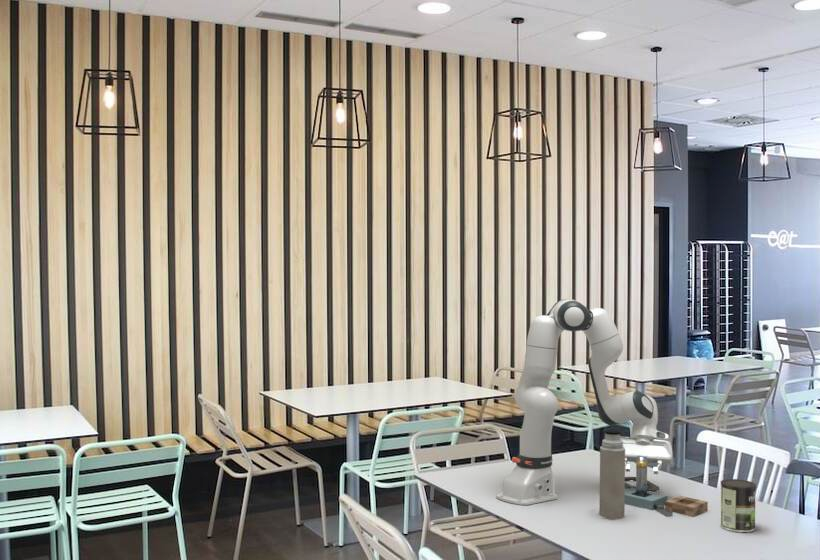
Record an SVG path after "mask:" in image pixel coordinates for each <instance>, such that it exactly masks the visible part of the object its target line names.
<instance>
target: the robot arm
mask: <svg viewBox="0 0 820 560" xmlns="http://www.w3.org/2000/svg"><path fill="white" fill-rule="evenodd" d="M618 330H619V329H618V328H617V326H616V324H615V322H614V319H612V317H611V315H610V314H609V312H608V311H607V310H606V309H604V308H601V307H597V308H595V307H594V308H591V309H589V308H588V307H587V306H585V305H584V304H582V303H581V302H579V301H577V300H575V299H569V298H565V299H564V298H563V299H560V300H558V301H557V302H555V303H554V305H553V306H552V307H551V309H550V310H549V311H548V312H547V314H546V315H545V314H543V315H538V316H535V317H534V318H533V319H532V321H531V323H530V326H529V330H528V334H527V337H526V345H525V346H526V347H525V353H524V354H525V355H524V363H523V367H522V371H521V372H522V373H521V376H520V379H519V382H518V386H517V388H516V389H515V391H514V400H515V404H516V405H517V407H518V408H519V409H520V410H521V411H522V412H523V413H524V414H523V415H524V416H523V422H522V426H521V429H520V431H519V453H518V455H517V457H516V456H513V457H512V458H511V462H512V463H514V464H516V465H515V467H514V468H513V470H512V471H510V473H509V475H507V476H506V478H505V479H504V481H503V486H502V491H500V492H499V493H497V494H496V495H495V498H496V499H497V500H500V501H503V502H505V503H509V504H515V505H521V506H530V505H533V504H538V503H544V502H549V501H553V500H558V495H557V494H556V488H555V487H556V486H555V476H554V475H555V474H554V473H553V470H552V466H553V455H552V430H553V425H554V420H555V415H556V414H557V412H558V410H559V401H558V398H557V396H556V395H555V394H554V392H552V391H551V390H550V389H549V385H550V382H551V379H552V376H553V374H554V372H555V371H556V366H557V356H558V347H559V346H558V345H559V340H560V336H561V334H562V333H563V332H564V331H568V332H579V331H582V332H583V333H584V335H585V336H586V339H587V341H588V344H589V346H590V351H591V352H590V353H591V354H590V355H591V356H590V357H589V359H588V363H587V364H588V369H589V374H590V379H591V385H592V388H593V391H594V392H593V393H594V396H595V400H596V408H597V415H598V417H599V420H600V421H601V422H603V423H604V425H605V424H606V425H607V426H610V427H614V426H616V425H619V424H622V423H625V422H630V421H632V426H631V434H630V436H622V435H620V440H622V441H623V447H624V448H625V472H627V473H629V472H631V465H630V464H628V463H630V462H632V463H636V456H640V455H641V456H647V464H655V465H656V464H657V465H656V466H654V467H653V474H654V475H659V470H661V468H662V467H663V465H669V466H670V465H671V464H673V463H674V461H673V460H674V459H673V457H674V456H673V455H674V454H673V446H672V443H671V441H670V435H669V434H668V433H666V432H662V431H660V430H658V429H657V425H658V423H659V422H658V421H659V411H658V405H657V401H656V400H655V399H654V397H652V396H650V395H646V394H644V393H643V392H641V391H640V390H633V391H629V392H626V393H625V392H624V393H622V394H618V395H613V396H612V395H611V394H610V391H609V387H608V383H607V379H606V371H607V369H608V367H610V366H611V365H612V364H614V362H616V361H617V360H618V359H619V358H620V357H621V355H622V353H623V351H624V344H623V340H622V337H621V335H620V332H619V331H618Z"/></svg>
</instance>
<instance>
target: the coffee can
mask: <svg viewBox="0 0 820 560" xmlns="http://www.w3.org/2000/svg"><path fill="white" fill-rule="evenodd" d="M756 487H757V485H756V483H755V482H752V481H750V480H744V479H736V478H727V479H723V480H720V528H722V529H723V528H724V529H723V530H726V531H729V530H730V532H733V531H734V533H741V532H747V533H752V532H751V531H753V532H755V531H756ZM754 530H755V531H754Z"/></svg>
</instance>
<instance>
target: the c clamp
mask: <svg viewBox="0 0 820 560" xmlns="http://www.w3.org/2000/svg"><path fill="white" fill-rule="evenodd" d="M630 480H633V481H632V482H636V476H625V487H626V489H629V488H636V485H631V484H630V483H629V482H631V481H630ZM647 486H648V487H647V491H653V492H658V491H660V487H659V486H658V485H656V484H655V483H653V482H651V481H650V480H648V479H647ZM657 490H658V491H657Z"/></svg>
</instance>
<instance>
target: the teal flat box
mask: <svg viewBox="0 0 820 560" xmlns="http://www.w3.org/2000/svg"><path fill="white" fill-rule="evenodd" d="M668 498H669V497H668V495H667V494H662V493H659V492H658V493H657V492H655V491H653V492H649V491H647V497H641V496H636V488H626V489H625V505H629V506H633V507H638V508H641V507H642V508H641V509H645V508H646V509H647V510H650V511H655V510H654V504H661V505H663V506H664V507H665V501H667V500H668Z"/></svg>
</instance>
